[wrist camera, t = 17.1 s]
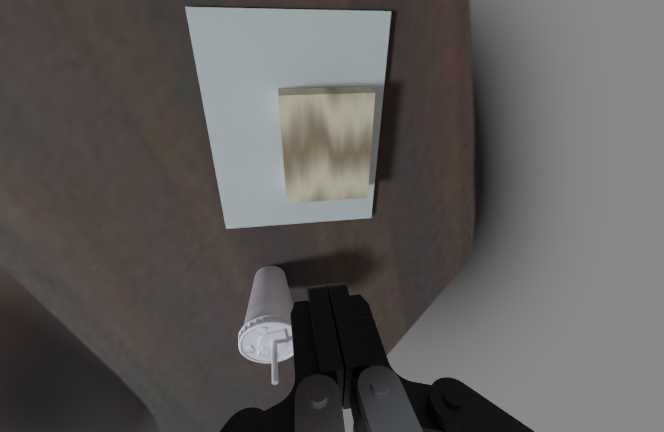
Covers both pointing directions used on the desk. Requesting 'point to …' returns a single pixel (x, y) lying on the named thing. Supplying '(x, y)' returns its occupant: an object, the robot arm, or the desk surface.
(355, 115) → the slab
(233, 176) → the mat
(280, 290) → the smoothie
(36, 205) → the desk surface
